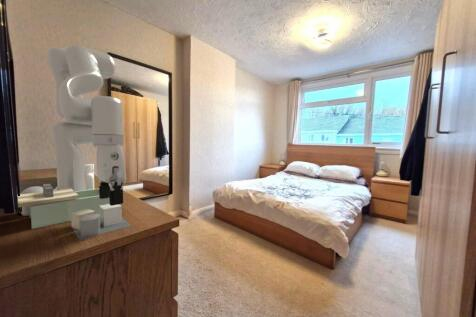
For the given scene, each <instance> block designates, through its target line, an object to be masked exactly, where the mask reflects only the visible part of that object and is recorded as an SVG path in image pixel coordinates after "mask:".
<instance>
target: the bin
mask: <svg viewBox="0 0 476 317" xmlns="http://www.w3.org/2000/svg"><path fill="white" fill-rule="evenodd" d="M75 192H76V193H77V194H78V196H79V198H78V199H72V200H65V201H58V202H52V203H45V204H38V205H32V206H29V212H30V215H29V218H30V219H31V230H33V229H39V228H44V227H49V226H52V225H57V224H61V223H66V222H67V223H68V222H72V220H71V213H72V212H76V211H80V210H84V209H90V210H93V211H95V214H99V206H101V205H106V204H110V201H109V198H105V199H100V198H99V187H98V188H94V189H90V190H83V191H75Z"/></svg>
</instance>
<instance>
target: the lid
mask: <svg viewBox="0 0 476 317" xmlns="http://www.w3.org/2000/svg"><path fill="white" fill-rule="evenodd" d="M42 187H43V192H34V193H26V194H20V193H19V194H20V196H18V195H17V208H18V209H19V208H21V207H25V206H32V205H38V204H45V203H52V202H58V201H65V200H72V199H78V198H79V196H78V194H77V193H76V192H75V191H73V190H72V189H71V188H68V189H60V190H53V189H54V188H53V186H52V185H51V183H46V184H45V183H43V184H42Z"/></svg>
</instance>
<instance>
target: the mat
mask: <svg viewBox="0 0 476 317" xmlns="http://www.w3.org/2000/svg"><path fill="white" fill-rule="evenodd" d="M132 226H133V225H132V224H131V223H130V222H128V221H127V220H125V219H124V218H123V217H122V223H118V224H114V225H110V226H106V227H104V226H103V225H102V224H101V228H100V231H99V234H96V235H90V236H84V237H81V230H78V229H76V228H73V227H72V224H70V227H71V229H72V230H73V232H74V233H75V235H76V237H77V239H78V240H80V241H81V240H85V239H88V238H91V237H95V236H99V235H103V234H107V233H111V232H114V231H118V230H121V229H125V228H128V227H132Z"/></svg>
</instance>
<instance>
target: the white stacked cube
mask: <svg viewBox="0 0 476 317" xmlns="http://www.w3.org/2000/svg"><path fill="white" fill-rule="evenodd" d="M122 207H123V206H122V204H118V205H113V206H111V205H110V204H106V205H101V206H99V214H100V221H101V224H102V225H103V226H104V227H106V226H110V225H114V224H118V223H122V218H123V216H122V215H123V208H122Z"/></svg>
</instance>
